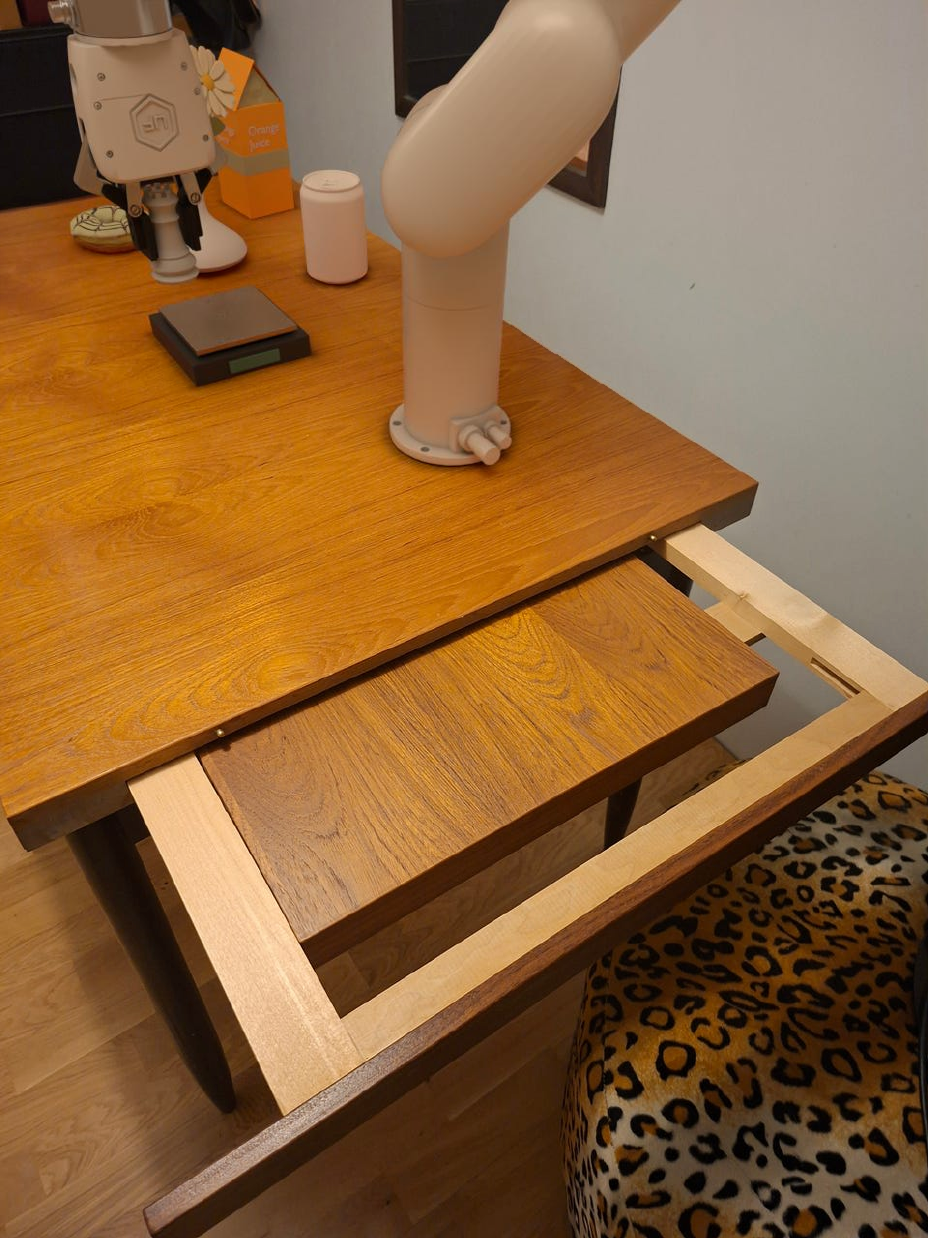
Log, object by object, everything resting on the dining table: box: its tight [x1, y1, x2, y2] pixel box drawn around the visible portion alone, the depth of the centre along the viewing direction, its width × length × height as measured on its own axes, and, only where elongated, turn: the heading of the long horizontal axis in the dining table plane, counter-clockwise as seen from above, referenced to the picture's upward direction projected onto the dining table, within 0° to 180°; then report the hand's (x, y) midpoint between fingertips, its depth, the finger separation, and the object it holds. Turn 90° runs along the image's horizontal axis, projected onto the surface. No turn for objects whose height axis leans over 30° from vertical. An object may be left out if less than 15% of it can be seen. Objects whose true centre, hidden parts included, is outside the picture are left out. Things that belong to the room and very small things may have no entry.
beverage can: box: [299, 169, 369, 285], centre depth 113 cm, size 8×8×12 cm
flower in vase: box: [186, 44, 248, 273], centre depth 110 cm, size 13×11×25 cm
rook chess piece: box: [141, 182, 200, 287], centre depth 79 cm, size 4×4×8 cm
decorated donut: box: [69, 204, 149, 253], centre depth 121 cm, size 10×11×4 cm
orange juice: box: [215, 46, 295, 220], centre depth 126 cm, size 8×9×20 cm
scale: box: [148, 288, 312, 387], centre depth 102 cm, size 14×14×2 cm
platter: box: [157, 285, 297, 356], centre depth 100 cm, size 12×12×1 cm
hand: (170, 248), depth 80 cm, fingers closed on rook chess piece, 3 cm apart
